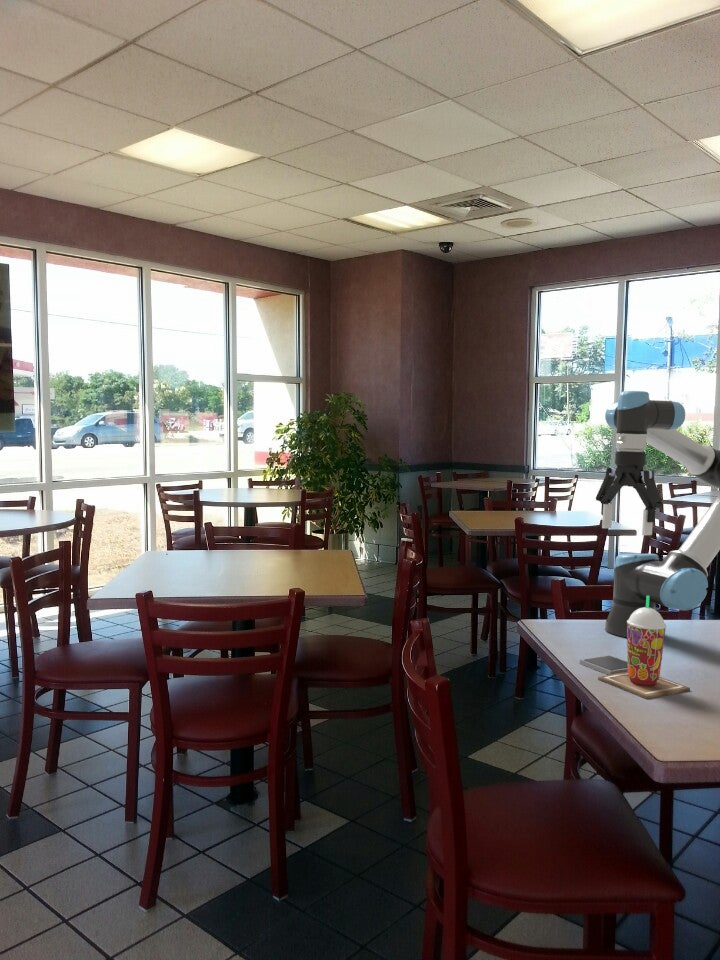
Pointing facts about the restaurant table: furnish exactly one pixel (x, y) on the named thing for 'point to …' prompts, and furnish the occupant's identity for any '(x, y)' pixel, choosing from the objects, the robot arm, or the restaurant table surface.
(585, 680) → the restaurant table surface
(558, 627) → the restaurant table surface
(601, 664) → the ink pad
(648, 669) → the smoothie
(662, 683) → the board
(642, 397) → the robot arm
